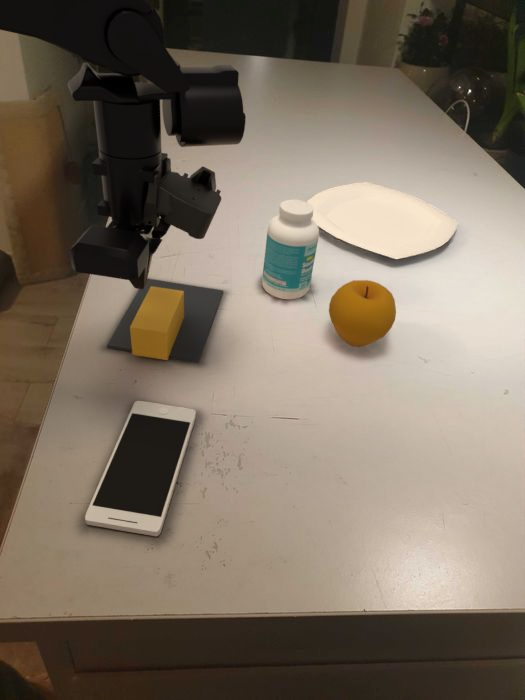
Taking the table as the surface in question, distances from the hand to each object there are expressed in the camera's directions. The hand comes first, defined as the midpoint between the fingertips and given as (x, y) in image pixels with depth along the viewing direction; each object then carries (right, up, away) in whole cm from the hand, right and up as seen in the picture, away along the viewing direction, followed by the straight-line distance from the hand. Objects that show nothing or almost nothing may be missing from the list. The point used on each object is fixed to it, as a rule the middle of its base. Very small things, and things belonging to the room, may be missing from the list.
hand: (140, 287), depth 59 cm
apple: (+27, -6, +15) cm, 31 cm away
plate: (+36, +17, +42) cm, 57 cm away
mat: (+1, -3, +14) cm, 15 cm away
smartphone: (+2, -19, -4) cm, 20 cm away
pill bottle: (+17, +3, +23) cm, 29 cm away
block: (0, -6, +6) cm, 9 cm away
